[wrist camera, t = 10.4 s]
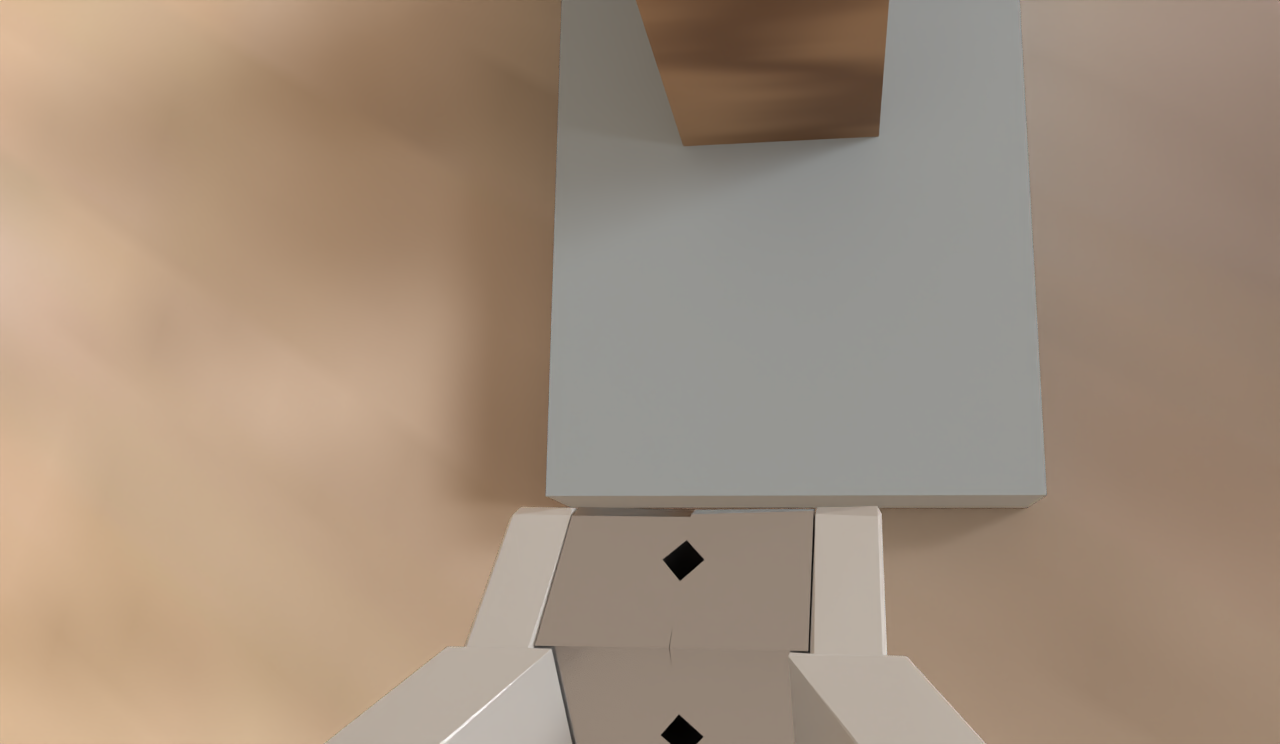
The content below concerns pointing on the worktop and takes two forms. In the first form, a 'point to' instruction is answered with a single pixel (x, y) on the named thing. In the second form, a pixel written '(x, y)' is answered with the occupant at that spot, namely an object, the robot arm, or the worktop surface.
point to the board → (797, 286)
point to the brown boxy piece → (769, 67)
